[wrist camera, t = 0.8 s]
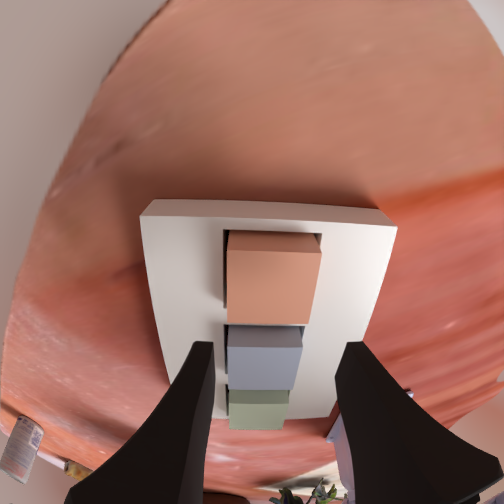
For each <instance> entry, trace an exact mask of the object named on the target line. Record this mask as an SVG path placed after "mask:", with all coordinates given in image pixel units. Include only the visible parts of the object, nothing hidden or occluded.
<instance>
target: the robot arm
mask: <svg viewBox="0 0 504 504" xmlns="http://www.w3.org/2000/svg"><path fill="white" fill-rule="evenodd" d="M334 378H335V386H336V394H337V401H338V405H339V408H340V414H339V416H338V418H337V420H336V422H335V423H334V425H333V427H332V429H331V431H330V432H329V434H328V436H327V437H326V442H328V443H329V442H334V447H335V452H336V458H337V463H338V469H339V475H340V480H341V483H342V485H343V486H344V487H345V488H346V489H347V490H348V492H347V494H348V498H346V499H344V500H343V502H342V504H476V503H477V502H479V501H480V496H479V493H481V492H483V491H484V490H486V489H487V488H489V487H491V486H492V485H494V484H495V483H497V482H498V481H499V480H501V479H502V478H503V477H504V473H503V471H502V468H501V465H500V463H499V460H498V458H497V457H495V456H493V455H491V454H488V453H486V452H484V451H482V450H480V449H478V448H476V447H474V446H472V445H471V444H469V443H467V442H466V441H464V440H462V439H461V438H459V437H458V436H456V435H455V434H453V433H452V432H450V431H449V430H448V429H446V428H445V427H444V426H442V425H441V424H440V423H438V422H437V421H436V420H435V419H434V418H432V417H431V416H430V415H429V414H428V413H427V412H426V411H424V410H423V409H422V408H421V407H420V406H419V405H418V404H417V403H416V402H415V401H414V400H413V399H412V396H413V395H414V394H413V392H412V391H409V392H405V391H404V390H403V389H402V387H401V386H400V385H399V384H398V383H397V382H396V381H395V379H394V378H393V377H392V376H391V375H390V374H389V373H388V371H387V370H386V369H385V368H384V367H383V365H382V364H381V363H380V362H379V361H378V359H377V358H376V357H375V356H374V354H373V353H372V352H371V351H370V350H369V348H368V347H367V346H366V345H365V344H364V342H363V341H356V342H347V344H346V347H345V350H344V352H343V355H342V358H341V360H340V363H339V366H338V368H337V371H336V374H335V376H334ZM215 381H216V374H215V359H214V343H213V342H209V341H195V342H193V344H192V347H191V349H190V351H189V353H188V355H187V357H186V359H185V361H184V363H183V365H182V367H181V369H180V371H179V372H178V374H177V376H176V377H175V379H174V381H173V382H172V384H171V386H170V387H169V389H168V391H167V392H166V393H165V395H164V396H163V398H162V399H161V401H160V402H159V404H158V405H157V406H156V408H155V409H154V411H153V412H152V413H151V415H150V416H149V417H148V418H147V420H146V421H145V422H144V423H143V424H142V426H141V427H140V428H139V429H138V430H137V431H136V433H135V434H134V435H133V436H132V437H131V438H130V439H129V440H128V441H127V442H126V443H125V444H124V445H123V446H122V447H121V448H120V449H119V450H118V451H117V452H116V453H115V454H114V455H113V456H112V457H110V458H109V459H108V460H107V461H106V462H105V463H104V464H102V465H101V466H100V467H99V468H98V469H96V470H95V471H94V472H93V473H91V474H90V475H88V476H87V477H86V478H84V479H83V480H81V481H80V482H78V483H77V484H76V485H74V486H73V487H71V488H70V490H69V492H68V494H67V497H66V499H65V502H64V504H203V481H204V463H205V454H206V448H207V442H208V436H209V430H210V424H211V418H212V412H213V407H214V398H215ZM482 504H504V491H503V492H501V493H499V494H497V495H496V496H494V497H492V498H491V499H489V500H487V501H485V502H484V503H482Z"/></svg>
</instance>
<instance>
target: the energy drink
mask: <svg viewBox="0 0 504 504" xmlns="http://www.w3.org/2000/svg"><path fill="white" fill-rule="evenodd" d="M43 435H44V430H43V428H42V427H41V426H40V425H39V424H37V423H36V422H35V421H33V420H31V419H30V418H28V417H26V416H23V415H21V416H19V417H18V419H17V422H16V424H15V426H14V428H13V431H12V433H11V435H10V438H9V440H8V443H7V445H6V447H5V450H4V453H3V456H2V458H1V460H0V470H1V471H3V472H4V473H6V474H7V475H9V476H10V477H12V478H14V479H15V480H17V481H19V482H20V483H22V484H25V483H26V482H27V480H28V477H29V474H30V471H31V468H32V465H33V462H34V459H35V456H36V454H37V451H38V448H39V445H40V443H41V440H42V437H43Z"/></svg>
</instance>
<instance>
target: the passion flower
mask: <svg viewBox="0 0 504 504" xmlns="http://www.w3.org/2000/svg"><path fill="white" fill-rule="evenodd" d="M322 480H323V478H322V479H321V481H320V483H319V485H318V486H316V488H315V489H314V490H313V492H312V496H311V497H310V499H309V500H308V502H307V503H306V504H309V502H310V501H311V499H312V498H316V499H317V500H316V502H315V503H316V504H327V503H328V502H330V501H331V500H333V499H336V500H342V502H343V500H344V499H346V498H347V496H348V495H347V494H344V499H338V498H335V496H336V493H337V489H336V488H335V484H333V486H332V488H331V489H330V491H329V492H328V493H326V492H325V487H322V488H321V484H322ZM334 488H335V489H334ZM279 492H280V493H281V495H282V497H281V498H280V499H277V498H274V497H271V498H270V499H269V501H271V502H273V503H275V504H304V503H303V501H302V499H301V498H300V497H298V496H294V497H293V495H292V492H291V490H289V489H288V488H284V489H283V490H279Z"/></svg>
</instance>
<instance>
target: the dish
mask: <svg viewBox="0 0 504 504" xmlns="http://www.w3.org/2000/svg"><path fill="white" fill-rule="evenodd" d="M203 504H250V502H249V501H248V500H246V499H244V498H241V497H237V496H232V495H226V494H213V493H203Z"/></svg>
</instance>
